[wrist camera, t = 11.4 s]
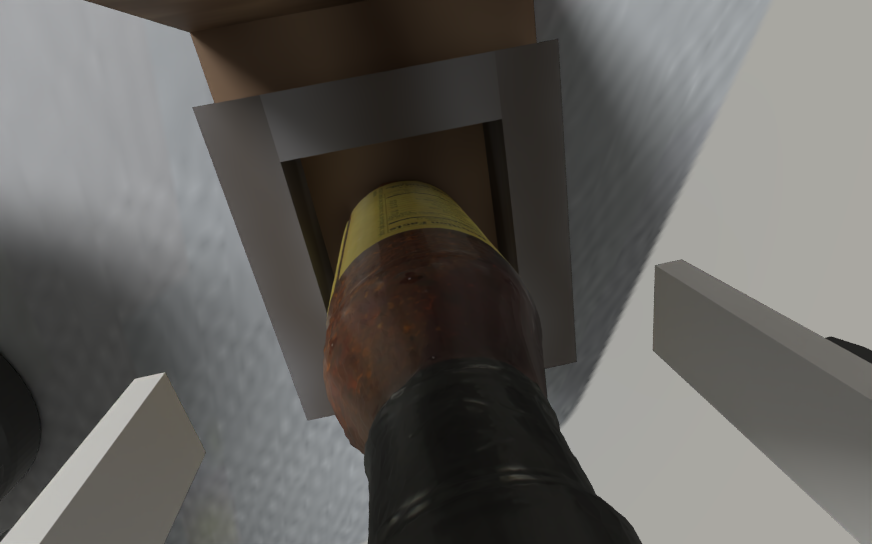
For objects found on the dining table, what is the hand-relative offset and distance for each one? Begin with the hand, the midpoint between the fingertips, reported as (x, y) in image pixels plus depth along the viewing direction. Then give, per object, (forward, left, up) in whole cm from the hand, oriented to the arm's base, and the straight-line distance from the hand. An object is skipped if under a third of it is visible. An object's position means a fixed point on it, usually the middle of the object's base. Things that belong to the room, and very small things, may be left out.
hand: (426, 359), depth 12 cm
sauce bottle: (0, 0, -13) cm, 13 cm away
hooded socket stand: (0, +2, -13) cm, 14 cm away
